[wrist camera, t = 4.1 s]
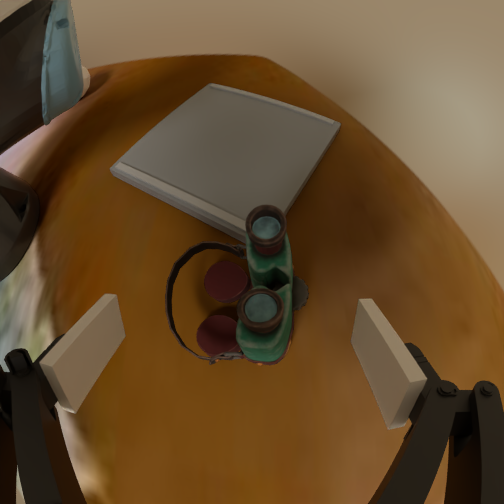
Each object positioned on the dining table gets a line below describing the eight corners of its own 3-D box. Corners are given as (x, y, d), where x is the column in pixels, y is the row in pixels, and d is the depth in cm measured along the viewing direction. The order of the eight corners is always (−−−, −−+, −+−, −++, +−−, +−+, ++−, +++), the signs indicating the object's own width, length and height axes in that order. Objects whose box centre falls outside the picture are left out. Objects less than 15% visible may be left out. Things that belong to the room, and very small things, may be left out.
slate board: (113, 175, 30) (108, 167, 29) (211, 89, 38) (210, 81, 37) (261, 252, 26) (262, 243, 24) (339, 130, 33) (341, 121, 32)
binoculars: (143, 192, 17) (311, 187, 15) (192, 265, 26) (304, 267, 25) (104, 337, 13) (313, 359, 11) (177, 364, 22) (301, 374, 20)
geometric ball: (82, 112, 43) (60, 101, 35) (59, 100, 42) (37, 89, 34) (104, 78, 42) (85, 63, 34) (79, 68, 41) (59, 54, 33)
